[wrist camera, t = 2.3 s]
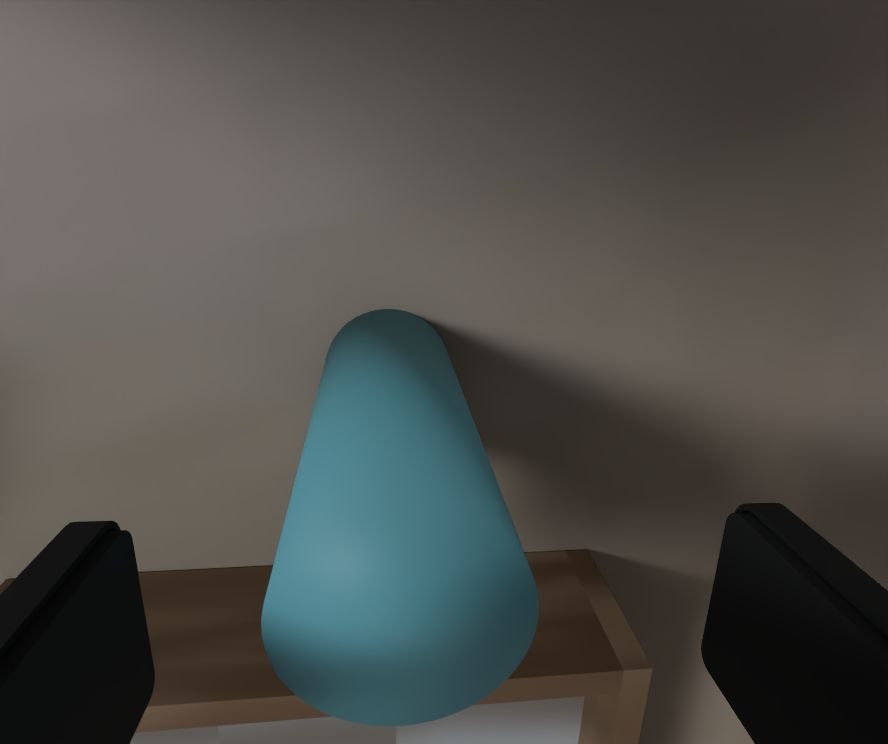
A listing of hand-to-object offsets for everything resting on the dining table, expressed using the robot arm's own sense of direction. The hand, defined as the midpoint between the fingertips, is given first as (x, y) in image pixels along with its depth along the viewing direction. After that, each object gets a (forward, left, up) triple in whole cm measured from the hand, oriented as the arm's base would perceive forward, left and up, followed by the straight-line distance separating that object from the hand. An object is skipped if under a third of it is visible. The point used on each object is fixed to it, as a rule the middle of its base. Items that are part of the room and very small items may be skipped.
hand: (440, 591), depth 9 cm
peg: (-1, -1, -9) cm, 9 cm away
